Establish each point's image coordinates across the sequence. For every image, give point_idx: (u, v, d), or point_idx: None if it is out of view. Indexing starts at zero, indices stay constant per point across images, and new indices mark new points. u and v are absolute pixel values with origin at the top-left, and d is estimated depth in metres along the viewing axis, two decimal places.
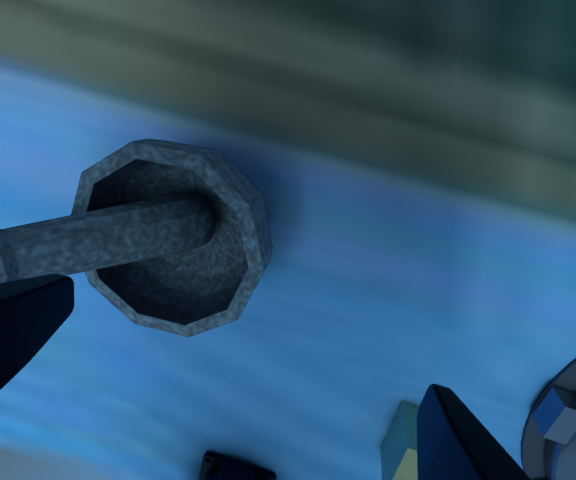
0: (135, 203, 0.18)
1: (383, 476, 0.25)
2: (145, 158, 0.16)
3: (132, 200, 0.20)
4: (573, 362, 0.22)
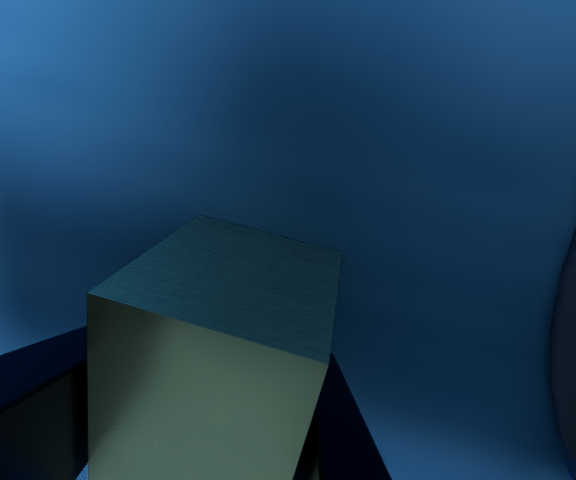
0: None
1: None
2: None
3: None
4: None
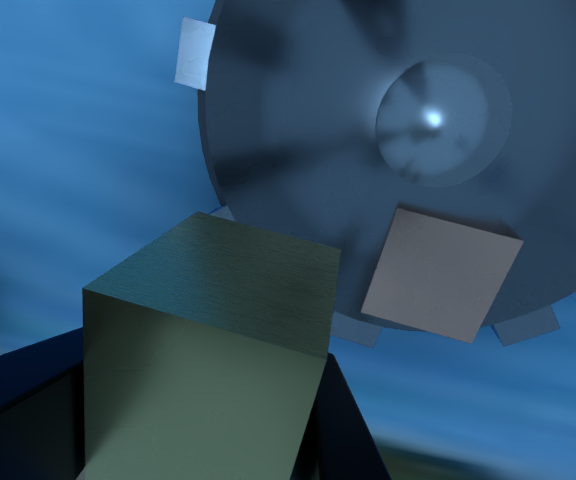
0: None
1: None
2: None
3: None
4: None
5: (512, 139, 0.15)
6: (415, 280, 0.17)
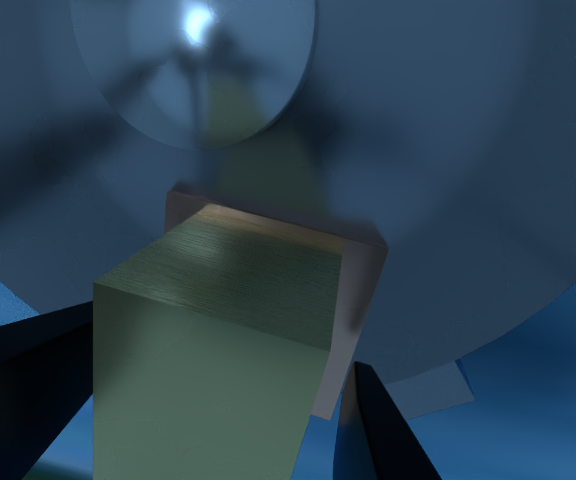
0: None
1: None
2: None
3: None
4: None
5: (342, 50, 0.07)
6: None
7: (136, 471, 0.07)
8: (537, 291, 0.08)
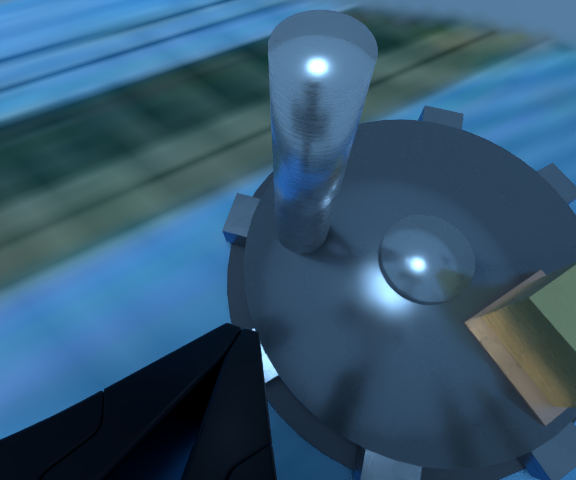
0: None
1: None
2: None
3: None
4: (230, 314, 0.21)
5: (462, 234, 0.21)
6: None
7: None
8: None
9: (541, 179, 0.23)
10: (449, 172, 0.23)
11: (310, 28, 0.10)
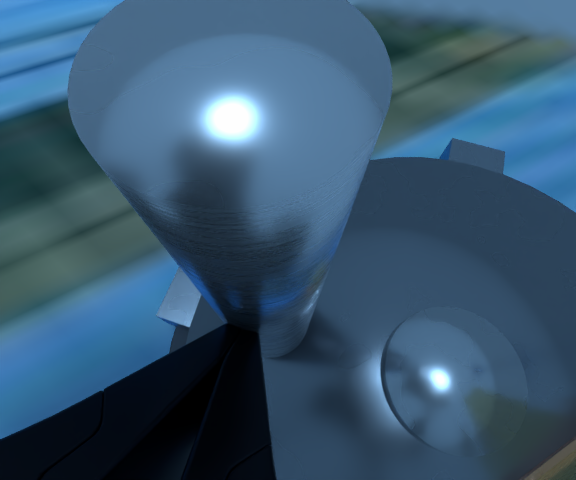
0: None
1: None
2: None
3: None
4: None
5: (505, 334, 0.14)
6: None
7: None
8: None
9: None
10: (486, 236, 0.16)
11: (207, 14, 0.04)
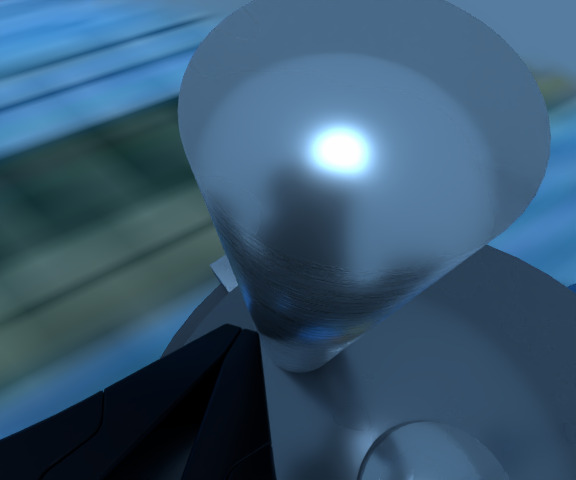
0: None
1: None
2: None
3: None
4: None
5: None
6: None
7: None
8: None
9: None
10: (570, 399, 0.13)
11: (374, 31, 0.03)
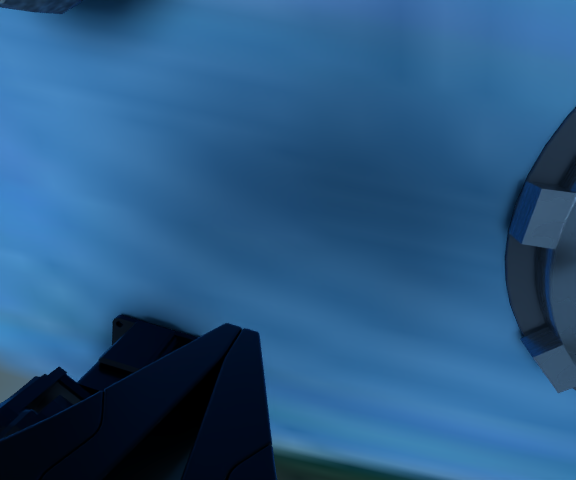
0: None
1: None
2: None
3: None
4: (572, 112, 0.16)
5: None
6: None
7: None
8: None
9: None
10: None
11: None
